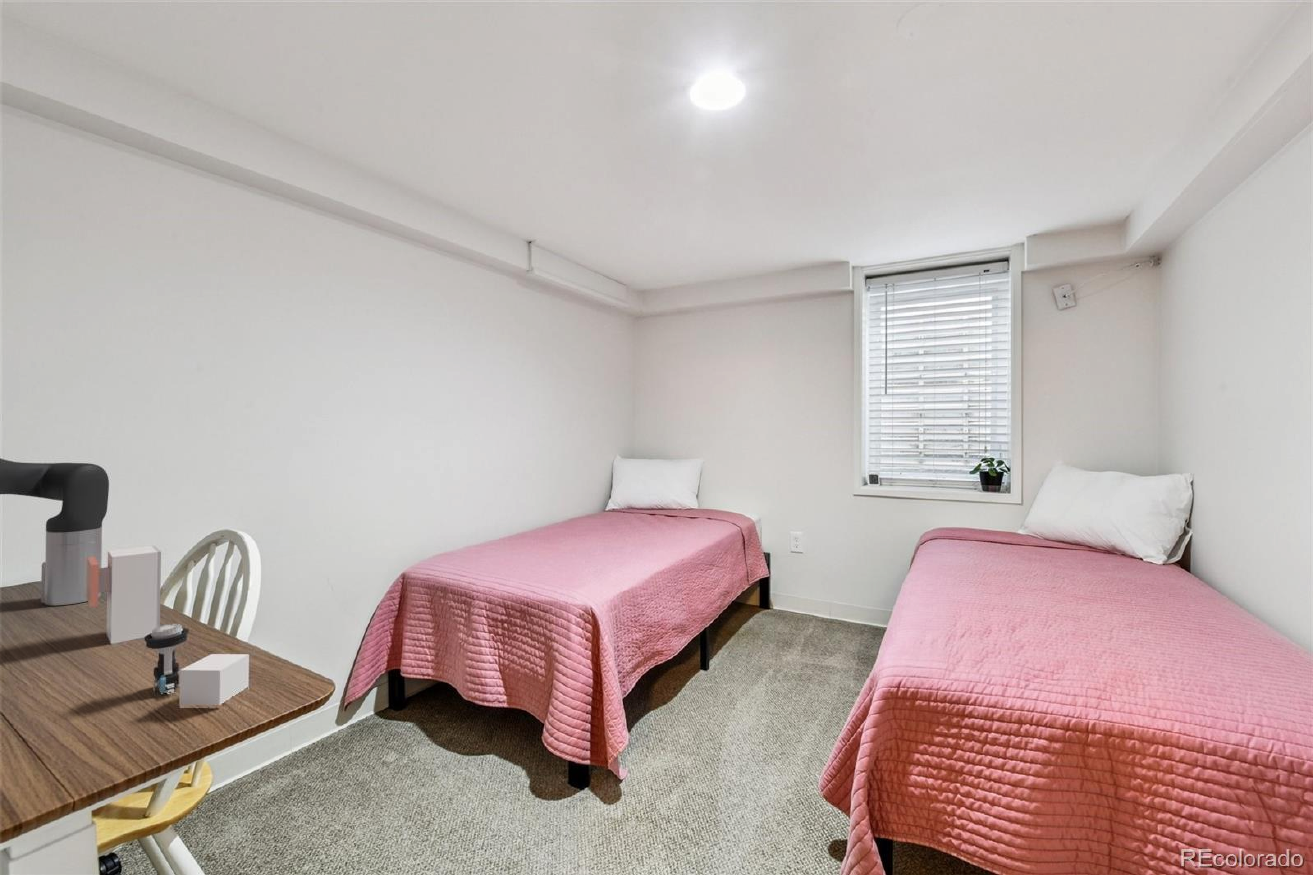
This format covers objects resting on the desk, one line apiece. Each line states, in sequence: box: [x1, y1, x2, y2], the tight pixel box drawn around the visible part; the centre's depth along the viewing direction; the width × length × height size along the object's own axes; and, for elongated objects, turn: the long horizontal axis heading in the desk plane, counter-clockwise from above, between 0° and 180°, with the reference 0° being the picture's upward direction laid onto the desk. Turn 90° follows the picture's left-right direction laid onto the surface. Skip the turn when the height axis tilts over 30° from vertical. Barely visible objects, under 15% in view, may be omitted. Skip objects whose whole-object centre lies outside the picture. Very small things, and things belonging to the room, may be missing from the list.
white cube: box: [178, 653, 250, 706], centre depth 84 cm, size 6×6×6 cm
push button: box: [143, 623, 190, 695], centre depth 87 cm, size 7×5×10 cm
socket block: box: [106, 545, 162, 645], centre depth 109 cm, size 7×8×17 cm
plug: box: [86, 557, 111, 608], centre depth 107 cm, size 8×9×8 cm
